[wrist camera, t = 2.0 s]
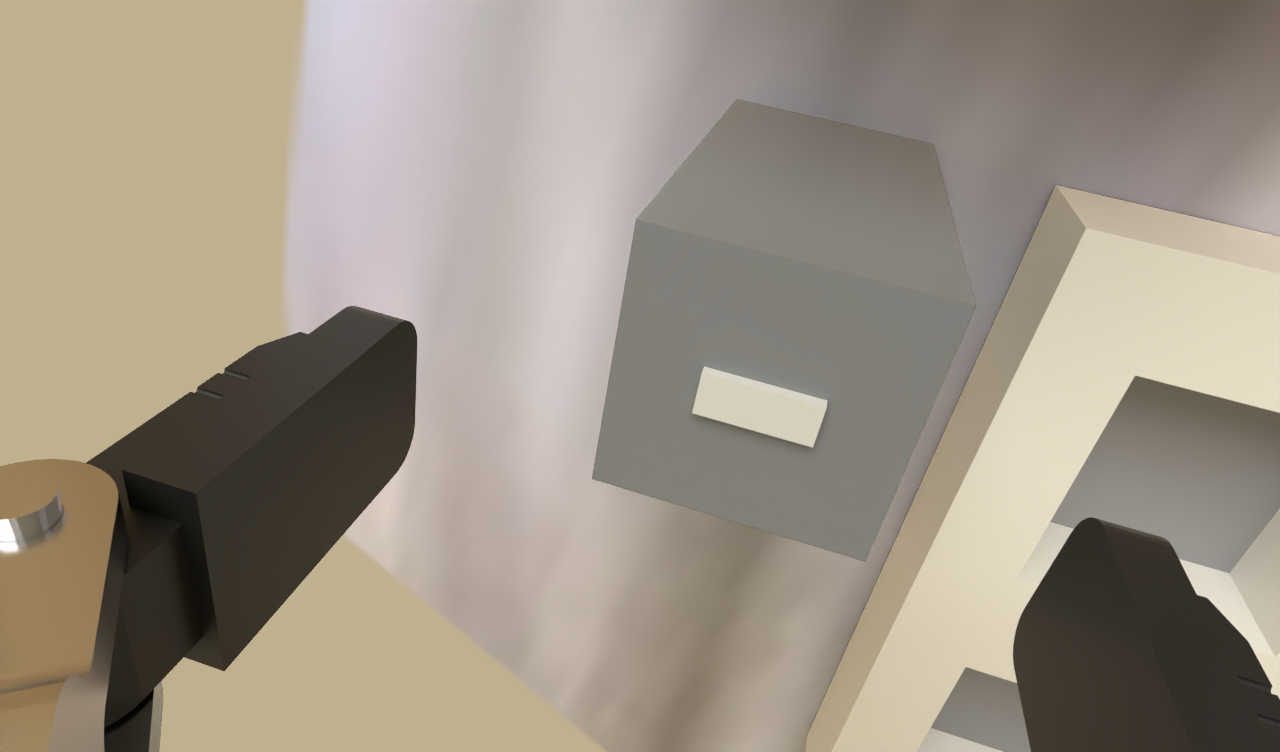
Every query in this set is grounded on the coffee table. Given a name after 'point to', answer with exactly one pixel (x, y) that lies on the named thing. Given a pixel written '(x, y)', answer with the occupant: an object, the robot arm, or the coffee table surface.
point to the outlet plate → (1079, 467)
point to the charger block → (785, 327)
